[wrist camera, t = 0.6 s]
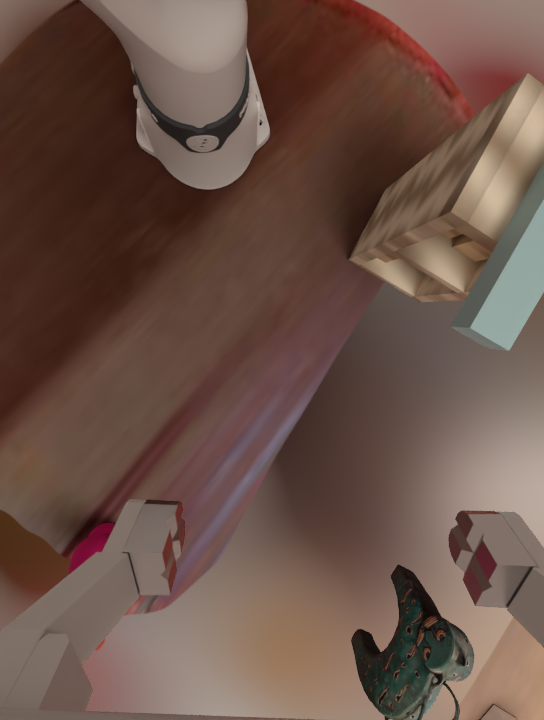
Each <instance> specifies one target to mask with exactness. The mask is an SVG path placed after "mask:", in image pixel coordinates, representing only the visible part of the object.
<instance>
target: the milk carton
mask: <svg viewBox="0 0 544 720" xmlns="http://www.w3.org/2000/svg"><path fill="white" fill-rule="evenodd" d="M481 720H517V719H516V718H514V717H513V716H511V715H510V714H508V713H506V712H505V711H503V710H502V709H500V708H498V707H497V706H495V705H493V706H492V707H491V709H490V710H489V711H488V712H487V713H486V714H485V715H484V717H483V718H482V719H481Z"/></svg>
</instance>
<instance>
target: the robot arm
mask: <svg viewBox="0 0 544 720" xmlns="http://www.w3.org/2000/svg"><path fill="white" fill-rule="evenodd" d="M80 1H81V2H82V3H83V4H85V5H86V6H87V7H88V8H89V9H90V10H92V11H93V12H94V13H95V14H96V15H97V16H98V17H99V18H100V19H101V20H102V21H103V22H104V23H105V24H106V25H107V26H108V27H109V28H110V29H111V30H112V31H113V32H114V33H115V35H116V36H117V37H118V39H119V40H120V42H121V44H122V45H123V47H124V49H125V51H126V53H127V55H128V57H129V59H130V61H131V67H132V71H133V74H134V75H135V79H136V83H137V85H134V87H133V91H134V96H135V98H136V99H137V129H136V138H137V142H138V144H139V146H140V147H141V148H142V149H143V150H144V151H146V152H147V153H149V154H151V155H153V156H155V157H156V158H158V159H159V160H160V161H161V163H162V164H163V165H164V166H165V168H166V169H167V170H168V171H169V172H170V173H171V174H172V175H173V176H174V177H175V178H177V179H178V180H179V181H181V182H183V183H184V184H186V185H189V186H191V187H194V188H199V189H217V188H221V187H224V186H226V185H229V184H230V183H232V182H234V181H235V180H236V179H238V178H239V177H240V176H241V175H242V174H243V172H244V171H245V170H246V168H247V167H248V165H249V163H250V161H251V159H252V157H253V155H254V153H255V152H256V151H257V150H258V149H259V148H260V147H261V146H263V145H264V144H265V143H266V142H267V141H268V139H269V137H270V128H269V124H268V121H267V117H266V113H265V110H264V106H263V103H262V99H261V96H260V92H259V89H258V85H257V82H256V78H255V74H254V71H253V67H252V64H251V60H250V57H249V53H248V50H247V20H248V13H247V3H246V0H80ZM260 122H261V123H262V125H260V126H259V124H260ZM182 513H183V504H182V502H178V501H162V500H145V499H129V500H128V502H127V503H126V504H125V506H124V508H123V510H122V512H121V514H120V516H119V518H118V520H117V522H116V524H115V526H114V528H113V530H112V532H111V534H110V536H109V538H108V540H107V542H106V544H105V546H104V549H103V551H102V552H96V553H95V554H94V555H92V556H91V557H90V558H89V559H87V560H86V561H85V562H84V563H83V564H81V565H80V566H79V567H78V568H77V569H75V570H74V571H73V572H72V573H70V574H69V575H68V576H67V577H66V578H64V579H63V580H62V581H61V582H60V583H58V584H57V585H56V586H55V587H53V588H52V589H51V590H50V591H49V592H47V593H46V594H45V595H44V596H43V597H42V598H40V599H39V600H38V601H36V603H34V604H33V605H32V606H30V607H29V608H28V609H27V610H26V611H24V612H23V613H22V614H21V615H20V616H18V617H17V618H16V619H15V620H13V621H12V622H11V623H10V624H9V625H7V626H6V627H5V628H4V629H3V630H2V631H1V633H0V720H313V719H286V718H285V719H284V718H259V717H231V716H230V717H229V716H204V715H176V714H149V713H148V714H147V713H119V712H93V711H86V708H87V705H88V702H89V699H90V697H91V694H92V691H93V689H92V686H91V683H90V681H89V679H88V677H87V675H86V673H85V671H84V669H83V667H82V664H83V663H84V662H85V661H86V660H87V658H88V657H89V656H90V655H91V654H92V653H93V651H94V650H95V649H96V648H97V647H98V645H99V644H100V643H101V642H102V641H103V640H104V638H105V637H106V636H107V635H108V634H109V632H110V631H111V630H112V629H113V627H114V626H115V625H116V624H117V623H118V622H119V621H120V619H121V618H122V617H123V616H124V615H125V613H126V612H127V611H128V610H129V609H130V607H131V606H132V605H133V604H134V603H135V602H136V600H137V599H138V598H139V595H170V594H171V591H172V587H173V583H174V580H175V576H176V572H177V566H176V559H177V558H178V557H179V556H180V555H181V554H182V550H183V546H184V540H185V528H186V525H185V520H184V519H183V518H182V517H181V516H182ZM456 521H457V523H458V525H457V526H455V527H454V528H452V529H451V531H450V534H449V548H450V552H451V555H452V557H453V560H454V562H455V564H456V565H457V566H458V567H459V568H460V569H462V570H463V571H464V572H465V573H464V578H463V581H464V583H465V585H466V588H467V590H468V592H469V594H470V596H471V598H472V600H473V602H474V604H475V606H485V607H500V608H508V609H507V610H508V611H509V612H510V613H511V614H512V616H513V617H514V618H515V619H516V620H517V621H518V622H519V623H520V624H521V625H522V626H523V627H524V628H525V629H526V630H527V631H528V632H529V633H530V634H531V635H532V636H533V637H534V638H535V639H536V640H537V641H538V642H539V643H540V644H541V645H542V646H543V647H544V548H543V546H542V545H541V544H540V542H539V541H538V539H537V538H536V537H535V535H534V534H533V533H532V531H531V530H530V529H529V528H528V526H527V525H526V523H525V522H524V521H523V519H522V518H521V517H520V516H519V515H518V514H516V513H515V512H495V511H460V512H459V513H458V514H457V517H456Z"/></svg>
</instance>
